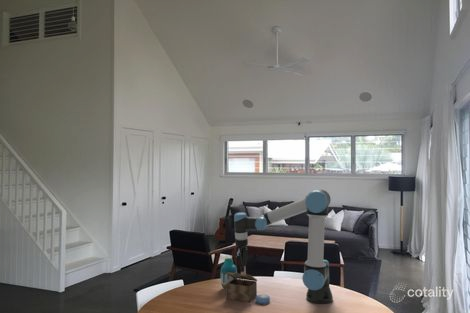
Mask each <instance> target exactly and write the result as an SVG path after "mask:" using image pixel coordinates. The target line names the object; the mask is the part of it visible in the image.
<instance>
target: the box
mask: <svg viewBox="0 0 470 313" xmlns="http://www.w3.org/2000/svg"><path fill="white" fill-rule="evenodd" d="M257 282H258V280H257V281H252V280H244V279H233V280H231V281H230V282H228V283H226V289H225V290H226V291H225V294H226V295H225V296H226V297H225V298H226V300H232V301H238V302H243V303H251V302H252V301H254V299H256V296H257V295H258V292H257V290H258V289H257V287H258V286H257V285H258V284H257Z"/></svg>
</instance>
